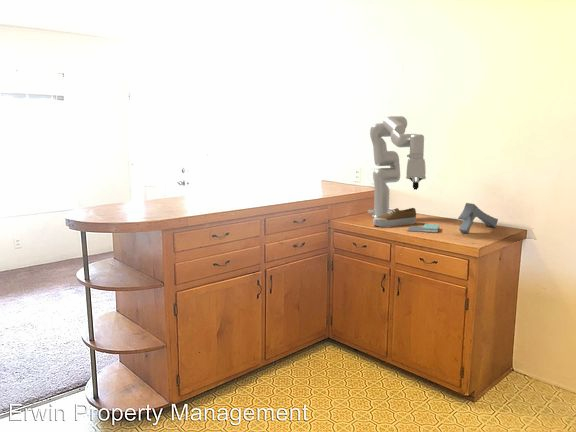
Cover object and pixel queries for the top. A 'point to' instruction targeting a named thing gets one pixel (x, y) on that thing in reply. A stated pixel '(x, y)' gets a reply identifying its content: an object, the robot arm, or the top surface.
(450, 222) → the top surface
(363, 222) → the top surface
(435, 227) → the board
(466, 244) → the top surface
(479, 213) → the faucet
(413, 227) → the mat
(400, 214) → the sneaker
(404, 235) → the top surface
